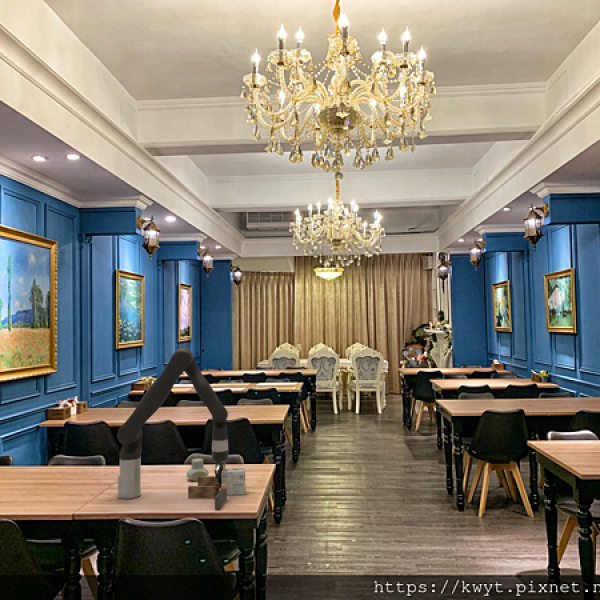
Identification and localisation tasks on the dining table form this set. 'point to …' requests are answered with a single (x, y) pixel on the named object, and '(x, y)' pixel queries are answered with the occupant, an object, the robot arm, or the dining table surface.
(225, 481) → the light bulb box
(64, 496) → the dining table surface
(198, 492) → the rails
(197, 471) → the air freshener
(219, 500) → the bar
